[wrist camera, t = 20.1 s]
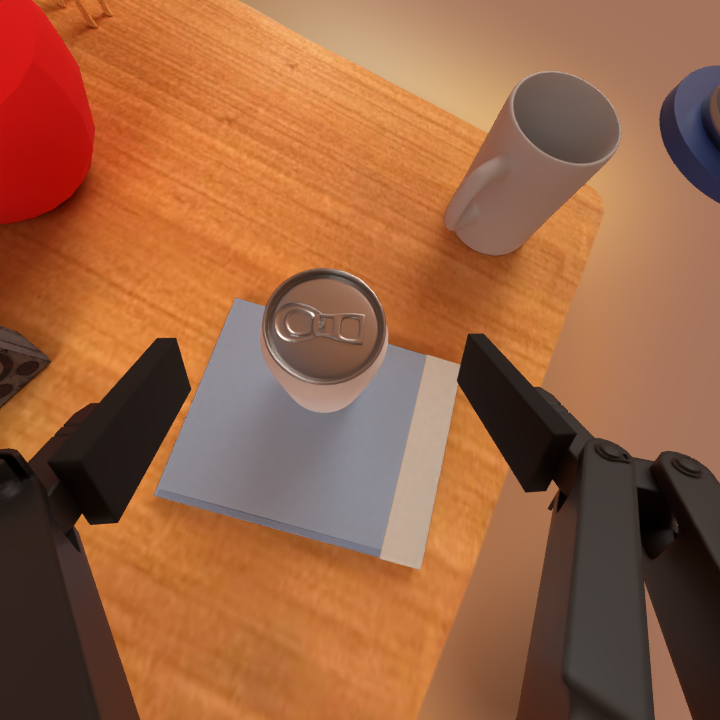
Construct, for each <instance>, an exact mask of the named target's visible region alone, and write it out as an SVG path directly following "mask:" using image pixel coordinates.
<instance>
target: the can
mask: <svg viewBox="0 0 720 720" xmlns="http://www.w3.org/2000/svg"><path fill="white" fill-rule="evenodd" d="M260 344H261V349H262V353H263V357H264V359H265V362H266V364H267V366H268V368H269V369H270V371H271V372H272V374H273V375H274V377H275V378H276V379H277V380H278V382H279V383H280V384H281V385H282V387H283V388H284V389H285V390H286V391H287V393H288V394H289V395H290V396H291V397H292V398H293V399H294V400H295V401H296V402H297V403H298V404H299V405H301V406H302V407H304V408H306V409H308V410H310V411H314V412H319V413H329V412H335V411H338V410H340V409H343V408H344V407H346V406H348V405H349V404H350V403H351V402H353V401H354V400H355V399H356V398H357V396H358V395H359V394H360V393H361V392H362V391H363V390H364V388H365V387H366V386H367V385H368V384H369V382H370V381H371V380H372V379H373V377H374V376H375V375H376V373H377V372H378V370H379V369H380V367H381V365H382V363H383V360H384V358H385V355H386V351H387V346H388V329H387V324H386V318H385V313H384V310H383V307H382V305H381V303H380V301H379V299H378V297H377V296H376V294H375V293H374V292H373V290H372V289H371V288H370V287H369V286H368V285H367V284H366V283H364V282H363V281H362V280H360V279H359V278H357V277H356V276H354V275H352V274H350V273H347V272H344V271H341V270H337V269H331V268H316V269H310V270H306V271H303V272H300V273H298V274H295V275H293V276H292V277H290V278H288V279H287V280H286V281H284V282H283V283H282V284H281V285H280V286H279V287H278V288H277V289H276V290H275V291H274V292H273V294H272V295H271V297H270V299H269V300H268V303H267V305H266V307H265V311H264V315H263V319H262V323H261V329H260Z"/></svg>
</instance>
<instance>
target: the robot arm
mask: <svg viewBox="0 0 720 720" xmlns="http://www.w3.org/2000/svg"><path fill="white" fill-rule="evenodd" d="M701 113H702V122H703V125H704V128H705V131H706V133H707V135H708V137H709V139H710V140H711V142H712V143H713V145H714V146H715V147H716V148H717V149H718V151H719V152H720V85H718V86H717V87H716V88H715V89H714V90H713V91H712V92H711V93H710V94H708V95H707V97H706V98H705V100H704V102H703V105H702V112H701ZM457 382H458V384H459V386H460V387H461V389H462V391H463V392H464V394H465V395H466V397H467V399H468V400H469V402H470V403H471V405H472V407H473V408H474V410H475V412H476V413H477V415H478V416H479V418H480V420H481V421H482V423H483V424H484V426H485V428H486V429H487V431H488V433H489V434H490V436H491V437H492V439H493V441H494V442H495V444H496V446H497V447H498V449H499V450H500V452H501V454H502V455H503V457H504V458H505V460H506V462H507V463H508V465H509V467H510V468H511V470H512V471H513V473H514V475H515V476H516V478H517V479H518V481H519V483H520V484H521V486H522V488H523V489H524V491H525V492H539V491H546V490H547V488H548V486H549V485H550V483H551V481H552V479H553V481H554V482H555V483H556V485H557V486H558V488H559V490H558V492H557V493H556V495H555V497H554V499H553V500H552V502H551V504H550V506H549V507H548V509H549V510H552V509H553V512H552V519H551V524H550V530H549V535H548V541H547V547H546V553H545V559H544V565H543V570H542V576H541V581H540V587H539V593H538V599H537V605H536V610H535V616H534V622H533V627H532V634H531V639H530V645H529V650H528V656H527V662H526V667H525V673H524V679H523V685H522V690H521V696H520V702H519V708H518V713H517V717H516V720H655V717H654V704H653V692H652V678H651V665H650V653H649V640H648V628H647V616H646V615H647V614H646V602H645V589H644V582H645V584H646V587H647V590H648V593H649V596H650V599H651V602H652V605H653V608H654V610H655V613H656V616H657V619H658V621H659V624H660V627H661V630H662V633H663V636H664V639H665V642H666V645H667V647H668V650H669V653H670V656H671V659H672V662H673V665H674V667H675V670H676V673H677V676H678V679H679V682H680V685H681V687H682V690H683V693H684V696H685V699H686V702H687V705H688V707H689V710H690V713H691V716H692V719H693V720H720V483H719V482H718V481H717V479H716V478H715V476H714V475H713V474H712V473H711V471H710V470H709V469H708V468H707V467H705V466H704V465H702V464H701V463H700V462H698V461H697V460H695V459H693V458H691V457H689V456H687V455H684V454H681V453H678V452H671V451H665V452H662V453H661V454H660V455H659V457H658V458H657V459H656V460H655V461H650V460H644V459H639V458H634V457H632V456H631V455H630V454H629V453H628V452H627V451H626V450H624V449H623V448H622V447H620V446H619V445H617V444H615V443H613V442H611V441H608V440H604V439H600V438H594V437H593V436H592V435H591V434H590V433H589V432H588V431H587V430H586V429H585V428H584V427H583V426H582V425H581V424H580V423H579V421H577V420H576V419H575V418H574V416H573V415H571V413H568V410H567V409H566V408H565V407H564V406H562V405H561V403H560V402H559V401H558V400H557V399H556V398H555V397H554V396H553V395H552V394H550V393H549V392H547V391H545V390H543V389H542V388H541V387H533V386H532V385H531V384H530V383H529V382H528V381H527V380H526V378H525V377H524V376H523V375H522V374H521V373H520V372H519V371H518V370H517V369H516V368H515V367H514V366H513V365H512V364H511V362H510V361H509V360H508V359H507V358H506V357H505V356H504V355H503V354H502V353H501V352H500V351H499V350H498V349H497V347H496V346H495V345H494V344H493V343H492V342H491V341H490V340H489V339H488V338H487V337H486V336H485V335H484V334H468V336H467V341H466V345H465V349H464V353H463V357H462V361H461V365H460V369H459V373H458V377H457ZM190 391H191V387H190V384H189V380H188V377H187V373H186V370H185V367H184V363H183V360H182V356H181V353H180V350H179V346H178V343H177V339H176V338H157V339H156V340H155V341H154V342H153V343H152V344H151V346H150V347H149V348H148V349H147V350H146V351H145V352H144V353H143V355H142V356H141V357H140V358H139V359H138V360H137V361H136V362H135V364H134V365H133V366H132V367H131V368H130V369H129V370H128V371H127V372H126V374H125V375H124V376H123V377H122V378H121V379H120V380H119V381H118V383H117V384H116V385H115V386H114V387H113V388H112V389H111V390H110V391H109V393H108V394H107V395H106V396H105V397H104V398H103V399H102V400H101V402H100V403H90V404H89V405H87V406H86V407H84V408H83V409H81V410H79V411H78V412H76V413H75V414H74V415H73V416H72V417H71V418H70V419H69V420H68V421H67V422H66V423H65V424H64V427H61V428H60V429H59V430H58V431H57V433H56V434H55V436H54V437H52V438H51V439H50V440H49V441H48V442H47V443H46V444H45V445H44V446H43V447H42V448H41V449H40V450H39V451H38V452H37V454H36V455H35V456H34V457H33V458H32V459H31V460H30V461H29V462H28V463H27V462H26V461H25V459H24V458H23V457H22V455H21V454H20V453H19V452H18V451H17V450H14V449H9V448H8V449H0V720H140V718H139V715H138V712H137V709H136V706H135V703H134V700H133V697H132V694H131V690H130V687H129V684H128V681H127V678H126V675H125V672H124V669H123V666H122V663H121V660H120V657H119V654H118V651H117V648H116V645H115V642H114V639H113V636H112V633H111V630H110V627H109V624H108V621H107V618H106V615H105V611H104V608H103V605H102V602H101V599H100V596H99V593H98V590H97V587H96V584H95V581H94V578H93V575H92V572H91V569H90V566H89V563H88V560H87V557H86V554H85V551H84V548H83V545H82V542H81V539H80V536H79V532H78V531H77V529H76V528H75V527H74V525H75V523H76V522H77V520H78V519H79V517H80V516H81V514H83V515H84V517H85V518H86V519H87V521H88V522H89V524H90V525H96V524H109V523H118V522H119V520H120V518H121V516H122V515H123V513H124V511H125V509H126V507H127V505H128V504H129V502H130V500H131V498H132V496H133V494H134V493H135V491H136V489H137V487H138V485H139V484H140V482H141V480H142V478H143V476H144V474H145V473H146V471H147V469H148V467H149V465H150V464H151V462H152V460H153V458H154V456H155V454H156V453H157V451H158V449H159V447H160V445H161V443H162V442H163V440H164V438H165V436H166V434H167V433H168V431H169V429H170V427H171V425H172V423H173V422H174V420H175V418H176V416H177V414H178V413H179V411H180V409H181V407H182V405H183V403H184V402H185V400H186V398H187V396H188V394H189V392H190ZM677 524H678V526H677Z"/></svg>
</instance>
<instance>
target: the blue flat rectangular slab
mask: <svg viewBox="0 0 720 720" xmlns="http://www.w3.org/2000/svg"><path fill="white" fill-rule="evenodd" d="M264 311H265V306H262V305H259V304H255V303H252V302H249V301H245V300H242V299H239V298H235V300H234V302H233V305H232V307H231V310H230V312H229V315H228V317H227V319H226V322H225V324H224V327H223V329H222V331H221V334H220V336H219V339H218V341H217V344H216V346H215V348H214V351H213V353H212V356H211V358H210V360H209V363H208V365H207V368H206V370H205V373H204V375H203V377H202V380H201V382H200V385H199V387H198V389H197V392H196V394H195V397H194V399H193V402H192V404H191V406H190V409H189V411H188V414H187V416H186V419H185V421H184V423H183V426H182V428H181V431H180V433H179V435H178V438H177V440H176V443H175V445H174V448H173V450H172V452H171V455H170V457H169V460H168V462H167V464H166V467H165V469H164V472H163V474H162V477H161V479H160V481H159V484H158V486H157V489H156V491H155V493H154V496H157V497H160V498H164V499H168V500H171V501H175V502H179V503H182V504H186V505H190V506H193V507H197V508H200V509H204V510H208V511H211V512H215V513H219V514H222V515H226V516H230V517H233V518H237V519H241V520H244V521H248V522H252V523H255V524H259V525H263V526H266V527H270V528H273V529H277V530H281V531H284V532H288V533H292V534H295V535H299V536H303V537H306V538H310V539H314V540H317V541H321V542H325V543H328V544H332V545H336V546H339V547H343V548H347V549H350V550H354V551H357V552H361V553H365V554H368V555H372V556H376V557H379V559H382V560H386V561H389V562H393V563H397V564H400V565H404V566H408V567H411V568H415V569H419V570H421V566H422V561H423V556H424V551H425V546H426V541H427V536H428V531H429V526H430V521H431V516H432V511H433V506H434V501H435V496H436V492H437V487H438V482H439V477H440V472H441V467H442V462H443V457H444V452H445V447H446V442H447V437H448V432H449V427H450V422H451V417H452V412H453V407H454V402H455V397H456V392H457V387H458V382H457V377H458V373H459V369H460V364H457V363H454V362H450V361H447V360H444V359H440V358H437V357H434V356H431V355H424V354H421V353H417V352H414V351H411V350H407V349H404V348H401V347H397V346H394V345H391V344H388V346H387V351H386V355H385V358H384V360H383V363H382V365H381V367H380V369H379V370H378V372H377V373H376V375H375V376H374V377H373V379H372V380H371V381H370V382H369V384H368V385H367V386H366V387H365V388H364V390H363V391H362V392H361V393H360V394H359V395H358V396H357V398H356V399H355V400H354V401H353V402H351V403H350V404H349V405H348V406H346V407H344V408H343V409H340V410H338V411H335V412H329V413H319V412H314V411H310V410H308V409H306V408H304V407H302V406H301V405H299V404H298V403H297V402H296V401H295V400H294V399H293V398H292V397H291V396H290V395H289V394H288V393H287V391H286V390H285V389H284V388H283V387H282V385H281V384H280V383H279V382H278V380H277V379H276V378H275V377H274V375H273V374H272V372H271V371H270V369H269V368H268V366H267V364H266V362H265V359H264V357H263V353H262V349H261V344H260V329H261V323H262V319H263V315H264Z"/></svg>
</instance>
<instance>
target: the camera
mask: <svg viewBox="0 0 720 720" xmlns="http://www.w3.org/2000/svg"><path fill="white" fill-rule="evenodd" d="M50 362H51V361H50V360H49V359H48V358H47V356H46V355H45V354H43V353H42V352H41V351H40V350H39V349H37V348H36V347H35V346H34V345H33V344H31V343H30V342H29V341H28V340H27V339H25V338H24V337H23V336H22V335H21V334H19V333H18V332H17V331H14V330H11V329H8V328H5V327H2V326H0V407H1V406H2V405H3V404H4V403H5V402H6V401H7V400H9V399H10V398H11V397H12V396H13V395H14V394H15V393H16V392H17V391H19V390H20V389H21V388H22V387H23V386H24V385H25V384H26V383H27V382H29V381H30V380H31V379H32V378H33V377H34V376H35V375H36V374H37V373H39V372H40V371H41V370H42V369H43V368H44V367H45V366H46V365H48V364H49V363H50Z"/></svg>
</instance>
